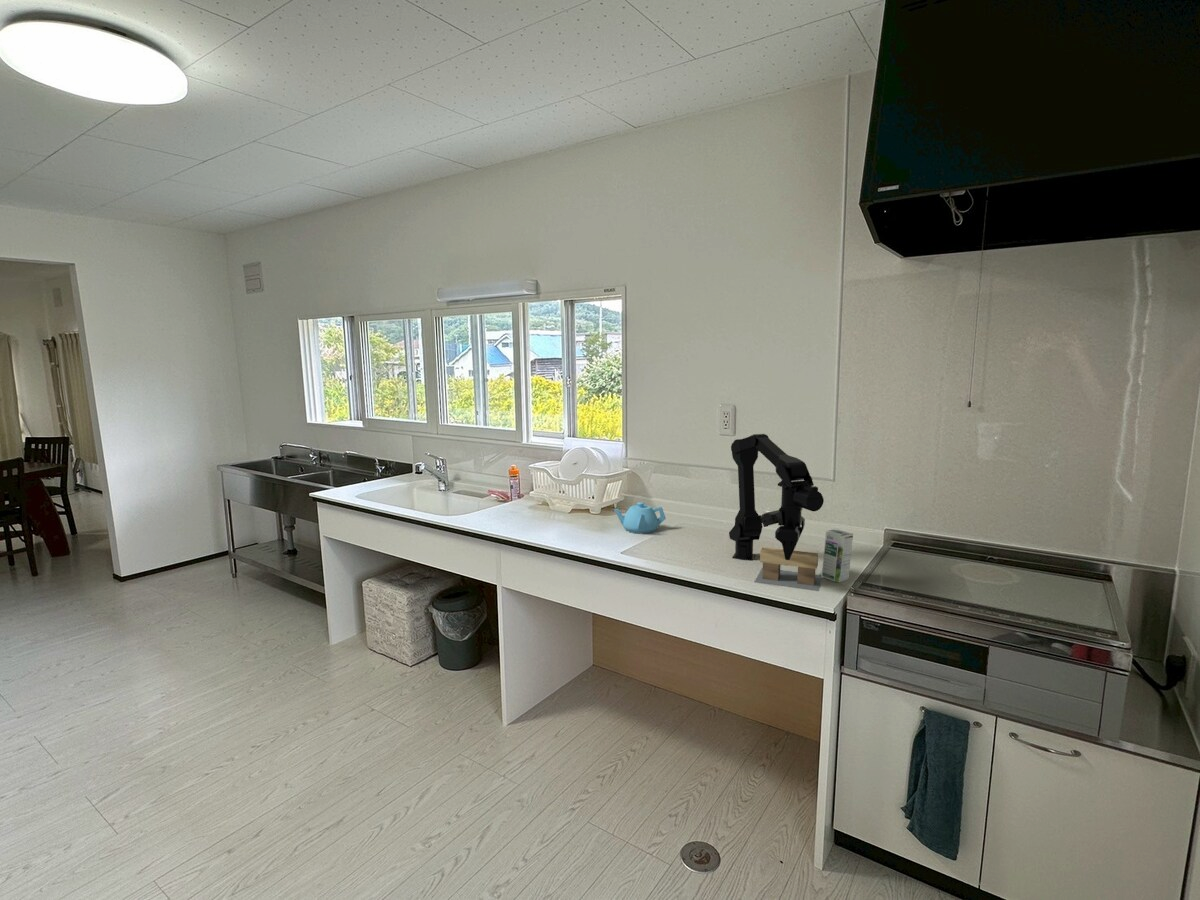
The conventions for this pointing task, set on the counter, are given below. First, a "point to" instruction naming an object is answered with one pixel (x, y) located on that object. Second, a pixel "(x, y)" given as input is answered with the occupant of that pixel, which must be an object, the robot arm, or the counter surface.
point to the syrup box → (837, 555)
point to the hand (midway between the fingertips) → (789, 555)
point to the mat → (790, 580)
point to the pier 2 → (806, 576)
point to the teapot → (641, 518)
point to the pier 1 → (771, 571)
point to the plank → (795, 560)
